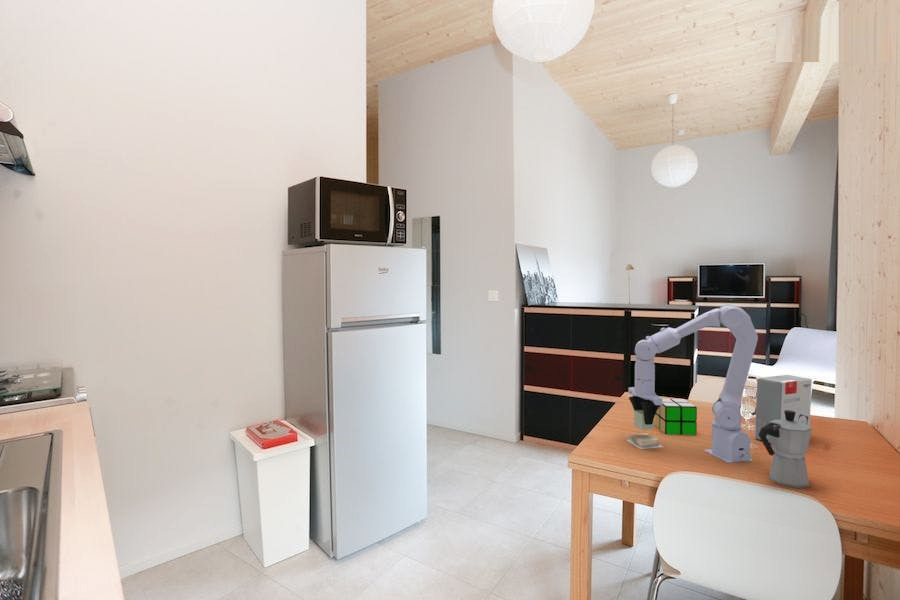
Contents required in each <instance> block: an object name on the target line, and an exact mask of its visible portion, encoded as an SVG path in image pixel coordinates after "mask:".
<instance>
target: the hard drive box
mask: <svg viewBox="0 0 900 600" xmlns="http://www.w3.org/2000/svg"><path fill="white" fill-rule="evenodd" d="M756 380H757V381H756V403H755V406H756V407H755V422H754V423H755V424H754V425H755V426H754V439H757V440H759V441H762V440H761V439H760V437H759V433H760V430H761V428H762V427H764V426H766V424H767V423H769V422H770V421H772V420H782V419H786V418H785V413H784V411H785V410H790V411H794V412H796V413H795V417H794V421H797V422H800V423H803V424H806V425H810V426H811V406H812V405H811V402H812V381H813V379H812V378H806V377H802V376H796V375H791V374H781V375H774V376H765V377H758V378H757V379H756ZM766 438H767V440H768V441H769V443H770V445H772V443H771V436H770V435H768V434H767V436H766Z"/></svg>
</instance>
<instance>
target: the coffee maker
mask: <svg viewBox="0 0 900 600" xmlns="http://www.w3.org/2000/svg"><path fill="white" fill-rule="evenodd" d="M784 413H785V418H786V419H782V420H772V421H770V422H769V423H767V424H766V426H764V427H762V428H761V430H760V433H759V437H760V439H761V440H760V441H761V442H762V444H763V446H764V447H765V450H766V451H767V453H768V454H769V455H770V456H772V458H771V465H770V470H769V473H768V475H769V476H768V479H769V480H770V479H771V481H772V480H773V481H772V482H774V481H775V483H776V482H777V484H778V483H779V485H780V484H782V485H781V486H785V487H790V488H795V489H803V488H810V484H809V483H810V482H809V477H808V476H809V475H808V470H807V465H806V464H807V463H806V458H805V454H806V453H808V451H809V446H810V442H811V441H810V440H811V435H812V430H813V428H812V425H811V424H810V425H806V424H803V423H800V422H797V421H794V417H795V413H796V412H794V411H790V410H785V411H784ZM767 434H768V435H770V436H771V443H772V444H771V443H769V441H768V440H767V438H766V436H767ZM773 448H774V449H773Z"/></svg>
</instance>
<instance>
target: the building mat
mask: <svg viewBox="0 0 900 600" xmlns="http://www.w3.org/2000/svg"><path fill="white" fill-rule="evenodd" d="M625 441H626V442H628V443H629V444H631V445H633V446H634V447H636V448H637V449H639V450H645V449H646V450H647V449H656V448H657V449H659V448H664V446H663V445H661V444H659V446H653V447H639V446H638V445H636V444H635V443H633V442H631V441H630V438H629V439H625Z"/></svg>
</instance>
